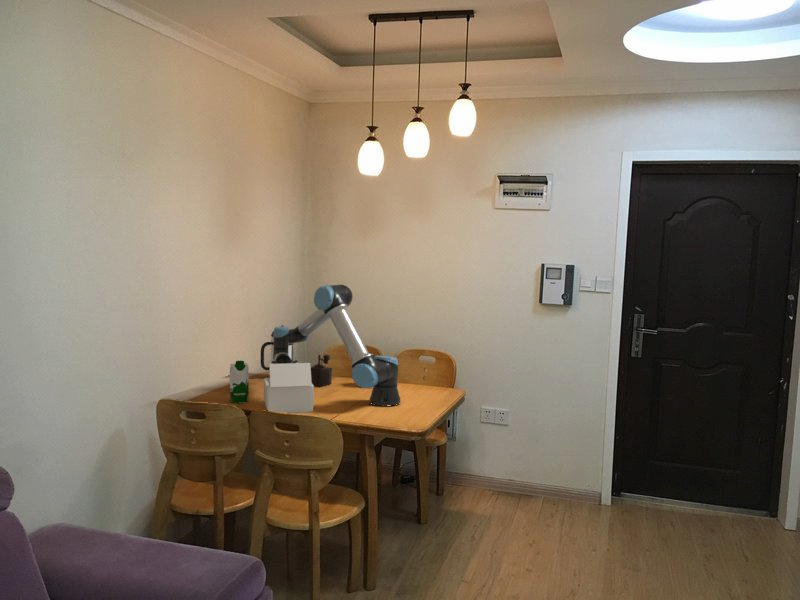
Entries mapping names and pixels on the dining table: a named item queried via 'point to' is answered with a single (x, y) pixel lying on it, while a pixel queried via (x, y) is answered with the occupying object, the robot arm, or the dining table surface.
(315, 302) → the robot arm
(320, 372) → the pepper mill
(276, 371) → the carton flap
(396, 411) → the dining table surface
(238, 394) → the milk carton
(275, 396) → the carton
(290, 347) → the coffee press
